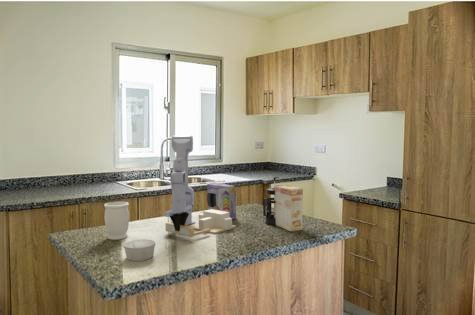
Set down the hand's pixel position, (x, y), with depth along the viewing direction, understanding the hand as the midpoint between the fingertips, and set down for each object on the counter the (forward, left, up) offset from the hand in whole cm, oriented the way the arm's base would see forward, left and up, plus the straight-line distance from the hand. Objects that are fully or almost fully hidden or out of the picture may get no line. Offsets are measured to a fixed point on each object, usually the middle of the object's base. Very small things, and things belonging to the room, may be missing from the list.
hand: (179, 230), depth 170 cm
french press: (+19, +46, -3) cm, 50 cm away
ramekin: (+8, -27, -3) cm, 28 cm away
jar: (-21, -17, -3) cm, 27 cm away
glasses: (0, +5, -1) cm, 5 cm away
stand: (0, +20, -3) cm, 21 cm away
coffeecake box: (+28, +43, -3) cm, 52 cm away
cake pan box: (-11, +40, -3) cm, 42 cm away
